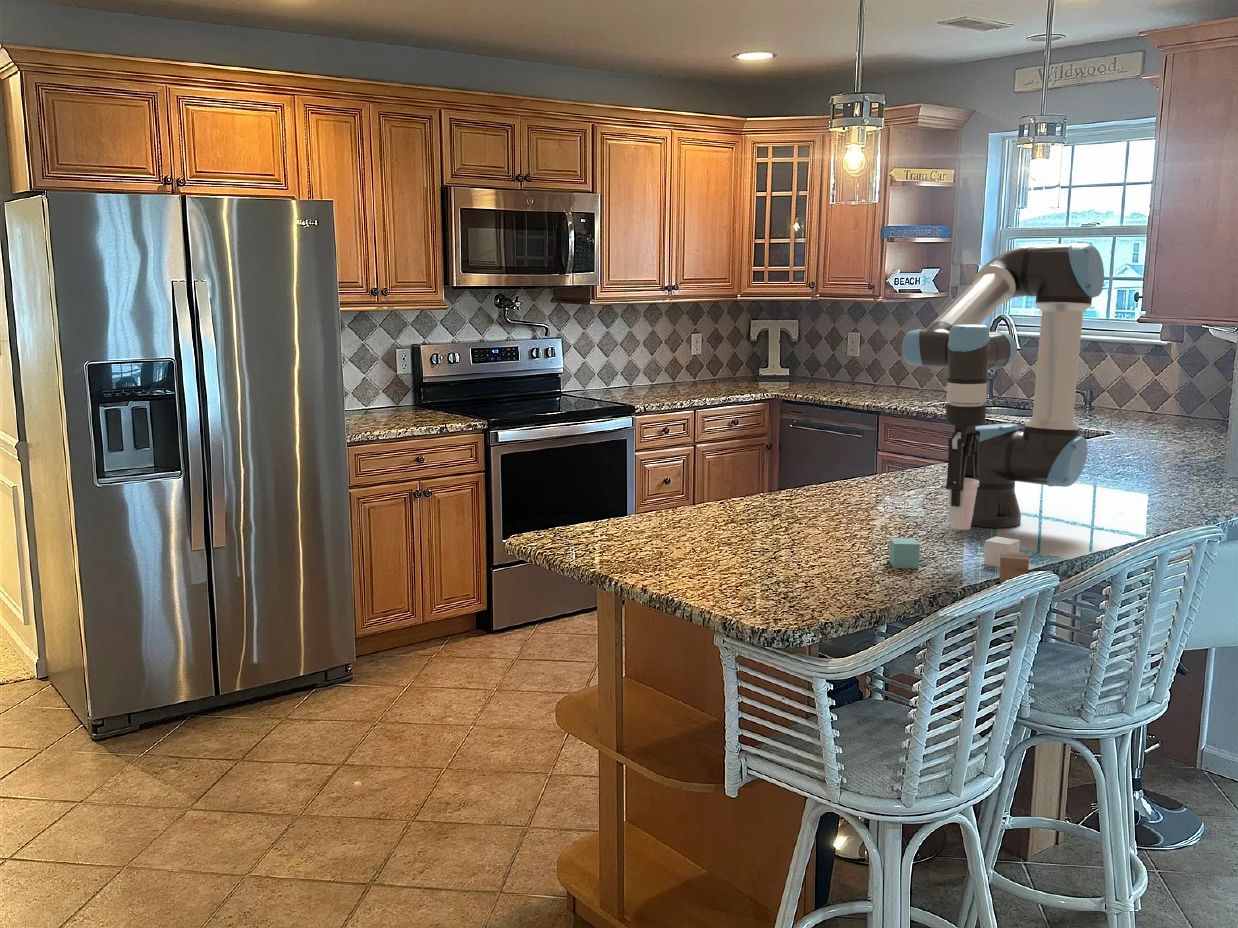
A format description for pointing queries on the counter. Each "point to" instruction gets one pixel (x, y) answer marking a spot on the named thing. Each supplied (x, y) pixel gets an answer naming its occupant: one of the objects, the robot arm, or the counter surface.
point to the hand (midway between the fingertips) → (961, 518)
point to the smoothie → (967, 503)
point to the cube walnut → (1013, 565)
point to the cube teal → (904, 553)
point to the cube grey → (999, 549)
